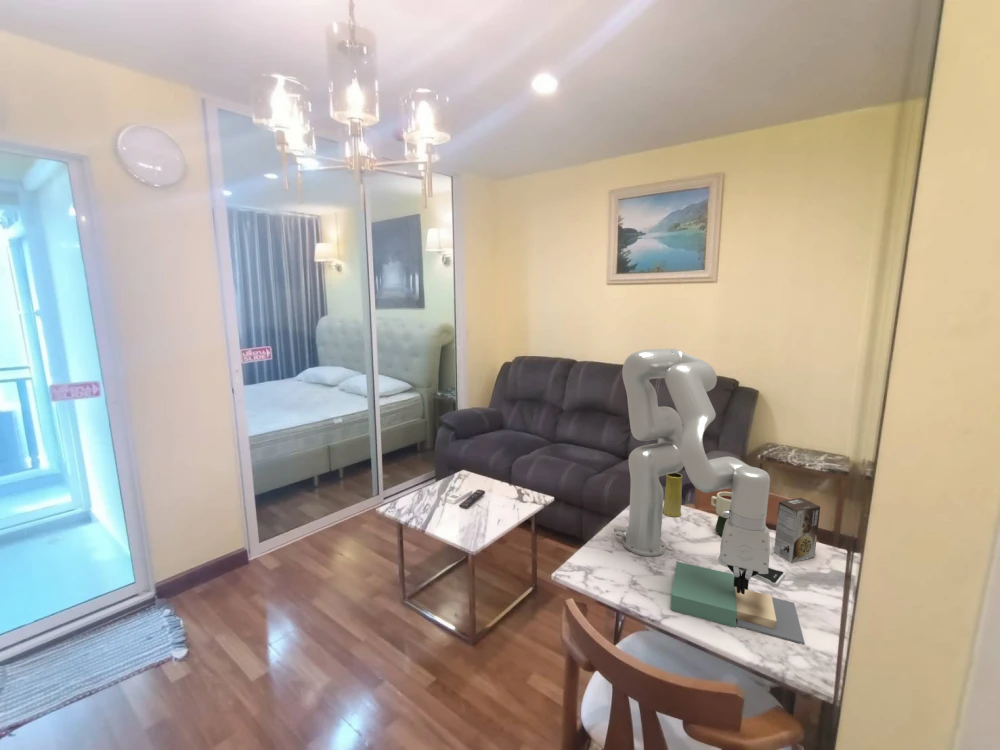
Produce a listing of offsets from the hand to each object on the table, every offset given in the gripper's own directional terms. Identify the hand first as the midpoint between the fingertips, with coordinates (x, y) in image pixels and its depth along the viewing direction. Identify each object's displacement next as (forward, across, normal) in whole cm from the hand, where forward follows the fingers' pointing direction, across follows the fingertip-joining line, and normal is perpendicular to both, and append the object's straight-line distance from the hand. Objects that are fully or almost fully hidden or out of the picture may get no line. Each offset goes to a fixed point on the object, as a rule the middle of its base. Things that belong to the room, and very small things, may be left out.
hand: (740, 590), depth 111 cm
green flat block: (+5, -8, 0) cm, 9 cm away
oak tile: (+4, +3, 0) cm, 5 cm away
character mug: (+5, -2, +39) cm, 39 cm away
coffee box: (+5, +16, +34) cm, 38 cm away
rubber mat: (+5, +6, 0) cm, 8 cm away
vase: (+5, -19, +47) cm, 51 cm away
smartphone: (+5, +4, +20) cm, 21 cm away
